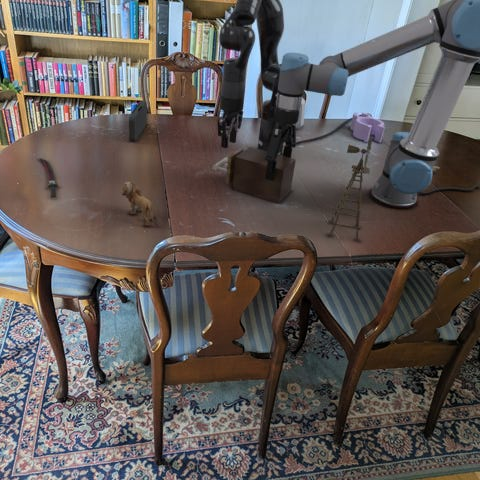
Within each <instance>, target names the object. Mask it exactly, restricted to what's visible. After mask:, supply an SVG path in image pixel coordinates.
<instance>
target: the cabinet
mask: <svg viewBox="0 0 480 480" xmlns="http://www.w3.org/2000/svg"><path fill="white" fill-rule="evenodd" d="M266 154H267V151H263V150H260V149H257V148H256V147H252V146H248V148H245V149H244V151H243V152H242V153H240V154H239V155H237V156H236V157H235V167H234V178H233V181H232V190H234V191H237V192H241V193H244V194H247V195H250V196H254V197H257V198H259V199H263V200H266V201H268V202H269V201H270V202H273V203H276V204H280V203H281V201H283V200H284V198H286V196H287V195H288V194H289V193H290V192H291V191H292V185H293V179H294V173H295V167H296V161H297V160H296V159H295V158H292V157H291V158H289V157H285V156H283V154H280V155H278V156H277V158H276V161H277V163H276V170H275V176H274V181H271V180H268V179H265V176H266V169H267V162H268V161H267V160H265V157H266Z"/></svg>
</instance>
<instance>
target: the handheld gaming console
mask: <svg viewBox="0 0 480 480" xmlns="http://www.w3.org/2000/svg"><path fill="white" fill-rule="evenodd" d="M147 104H148V103H147V101H146V100H140V101H139V102H137V104H136V105H135V107H134V108H133V110H132V111H131V113H130V114H129V116H128V139H129V141H131V142H136V141H137V140H138V138H140V137H139V136H141V134H142V132H143V130H144V129H145V127H146V125H147V123H148V105H147Z"/></svg>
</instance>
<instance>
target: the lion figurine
mask: <svg viewBox="0 0 480 480" xmlns="http://www.w3.org/2000/svg"><path fill="white" fill-rule="evenodd" d="M119 193H120V194H121V196H122V197H124V196H125V198H126V199H127V200H128V202H129V203H130V207H131V211H130V212H129V213H130V215H135V214H136V211H137V212H141V214H142V216H143V218H144V219H145V223H144V225H145V227H149V226H150V221H152V223H153V225H155V226H159V222H156V221H155V219H154V217H153V216H154V215H153V204H152V202H151V200H150V199H148V198H146V197H145V196H144V195H143V194H142V192H141V190H140V187H138V185H136V184H135V183H133V182H132V181H125V182H124V186H122V188H121V189H119ZM136 207H137V208H136ZM148 214H149V216H148Z"/></svg>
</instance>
